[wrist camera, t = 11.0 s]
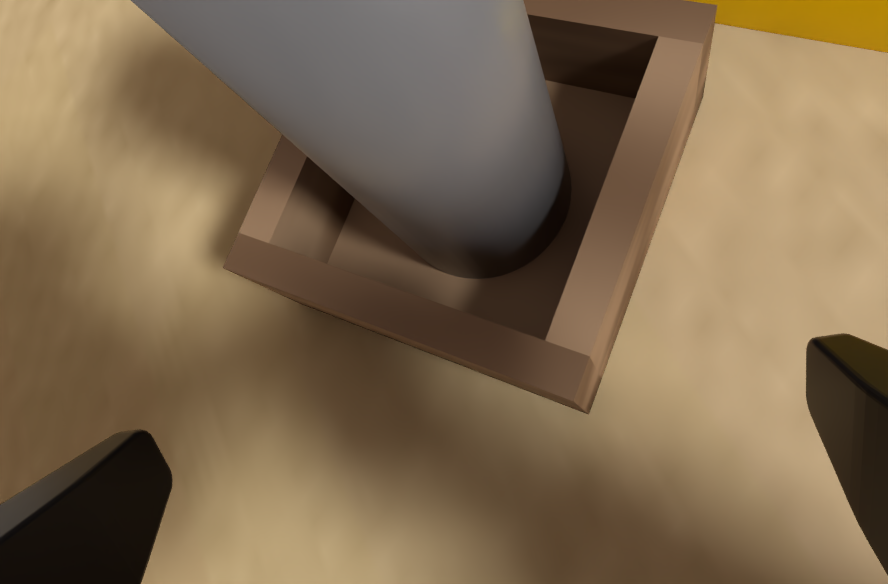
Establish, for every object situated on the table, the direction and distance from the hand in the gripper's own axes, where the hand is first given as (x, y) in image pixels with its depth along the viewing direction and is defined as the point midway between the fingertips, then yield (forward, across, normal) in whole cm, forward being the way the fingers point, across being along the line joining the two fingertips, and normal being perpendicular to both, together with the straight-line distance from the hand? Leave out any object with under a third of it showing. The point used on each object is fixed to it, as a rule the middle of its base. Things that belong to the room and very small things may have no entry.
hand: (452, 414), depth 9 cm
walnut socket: (+12, 0, +1) cm, 12 cm away
